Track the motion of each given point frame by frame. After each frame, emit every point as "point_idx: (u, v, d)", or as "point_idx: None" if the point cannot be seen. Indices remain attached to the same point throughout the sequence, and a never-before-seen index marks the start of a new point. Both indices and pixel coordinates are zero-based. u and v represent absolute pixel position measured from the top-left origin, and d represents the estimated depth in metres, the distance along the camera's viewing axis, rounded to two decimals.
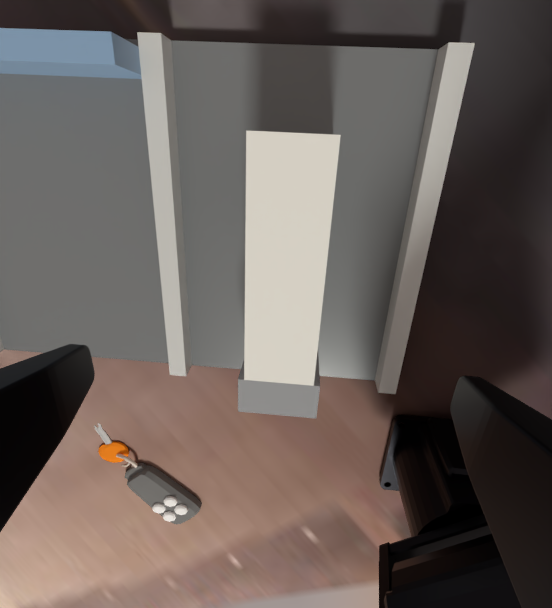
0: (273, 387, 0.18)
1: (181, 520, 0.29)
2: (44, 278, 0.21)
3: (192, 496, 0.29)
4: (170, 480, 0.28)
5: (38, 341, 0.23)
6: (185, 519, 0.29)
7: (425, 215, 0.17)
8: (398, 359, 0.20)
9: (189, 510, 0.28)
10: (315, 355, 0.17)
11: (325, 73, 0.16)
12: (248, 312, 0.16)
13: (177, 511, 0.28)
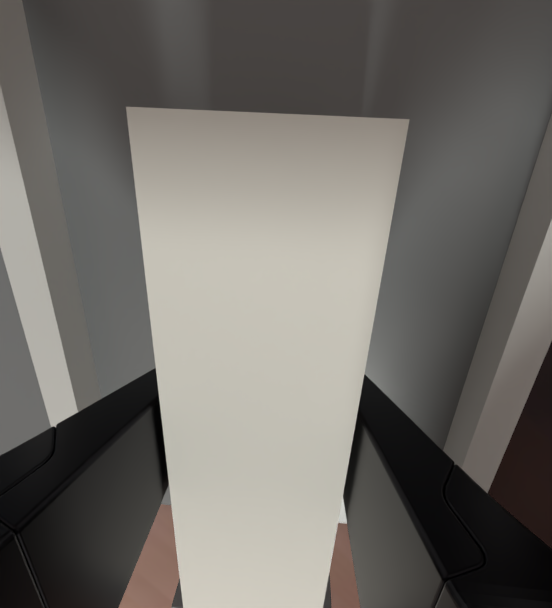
0: None
1: None
2: None
3: None
4: None
5: None
6: None
7: (549, 292, 0.08)
8: None
9: None
10: (324, 583, 0.08)
11: None
12: (179, 510, 0.07)
13: None
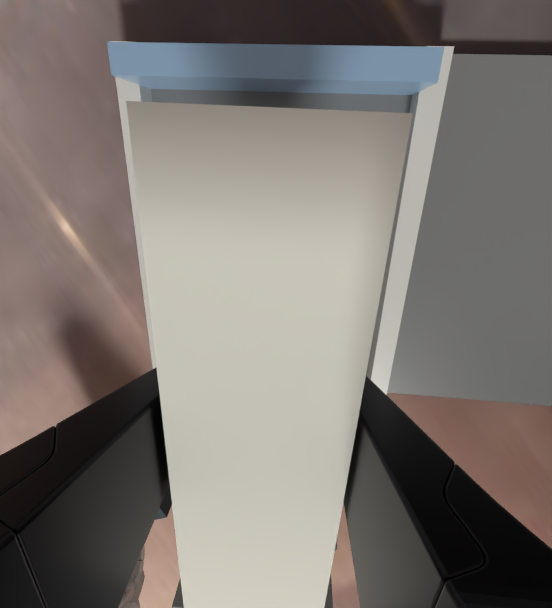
0: None
1: None
2: None
3: None
4: None
5: None
6: None
7: None
8: None
9: None
10: (325, 582, 0.08)
11: None
12: (180, 508, 0.07)
13: None
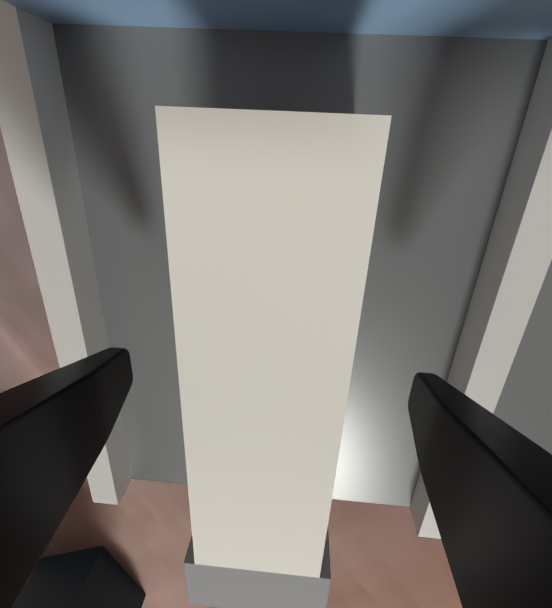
0: (248, 576, 0.10)
1: None
2: None
3: None
4: None
5: None
6: None
7: None
8: None
9: None
10: (323, 536, 0.09)
11: None
12: (193, 467, 0.08)
13: None
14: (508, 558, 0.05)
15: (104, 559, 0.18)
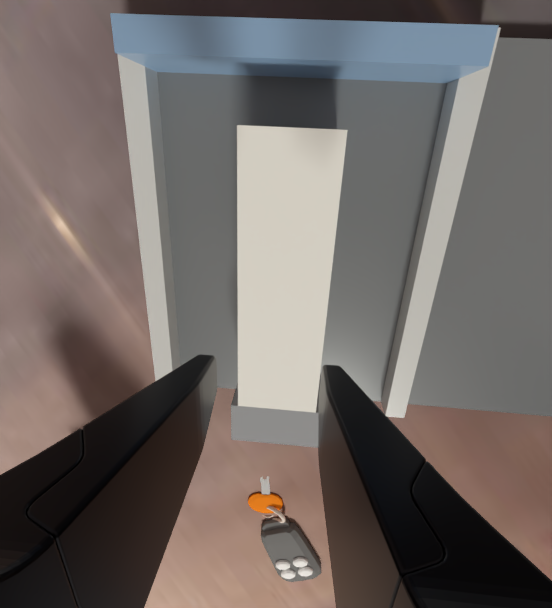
0: (271, 414, 0.16)
1: (296, 579, 0.28)
2: None
3: (317, 559, 0.27)
4: (306, 541, 0.27)
5: (224, 376, 0.21)
6: (301, 579, 0.28)
7: None
8: None
9: (312, 573, 0.27)
10: (317, 379, 0.15)
11: None
12: (241, 332, 0.14)
13: (302, 572, 0.27)
14: (352, 541, 0.05)
15: None
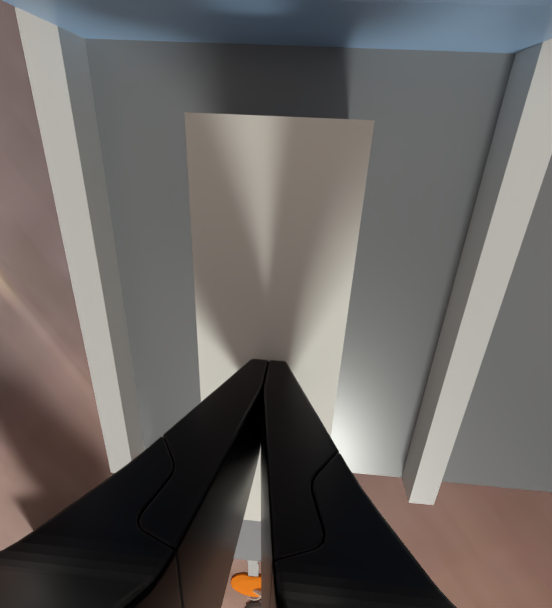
0: (254, 527, 0.11)
1: None
2: None
3: None
4: None
5: None
6: None
7: None
8: None
9: None
10: None
11: None
12: None
13: None
14: (264, 532, 0.05)
15: None
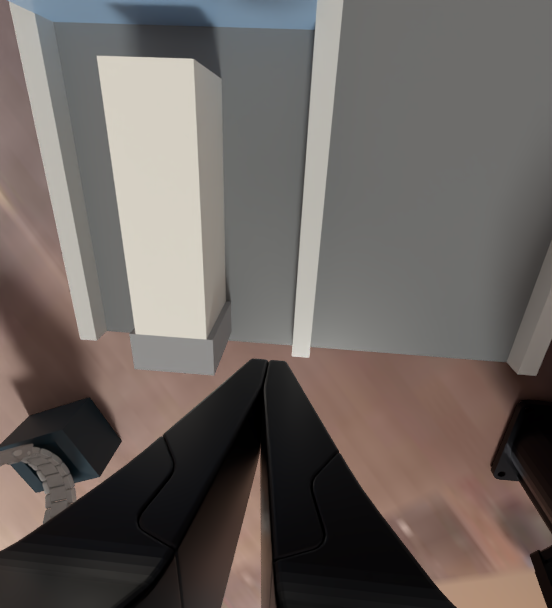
0: (166, 342, 0.17)
1: None
2: None
3: None
4: None
5: None
6: None
7: None
8: (546, 337, 0.19)
9: None
10: (203, 306, 0.16)
11: (510, 20, 0.15)
12: (128, 259, 0.15)
13: None
14: (264, 532, 0.05)
15: (90, 405, 0.25)
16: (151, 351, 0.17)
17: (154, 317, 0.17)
